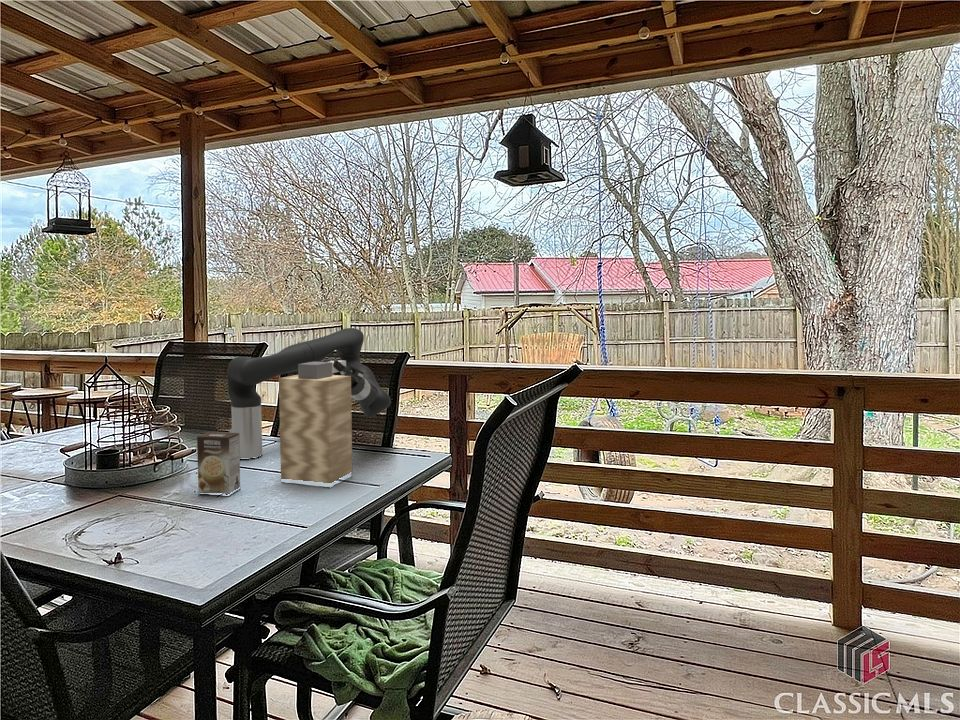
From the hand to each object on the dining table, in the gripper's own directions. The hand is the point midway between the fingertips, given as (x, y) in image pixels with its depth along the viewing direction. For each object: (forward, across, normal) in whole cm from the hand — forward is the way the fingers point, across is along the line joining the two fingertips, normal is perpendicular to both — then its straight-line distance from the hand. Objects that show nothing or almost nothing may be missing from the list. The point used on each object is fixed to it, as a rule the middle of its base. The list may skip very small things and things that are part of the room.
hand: (329, 362), depth 180 cm
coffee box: (+6, -18, +42) cm, 46 cm away
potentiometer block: (0, 0, +4) cm, 4 cm away
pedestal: (-10, 0, +33) cm, 34 cm away
